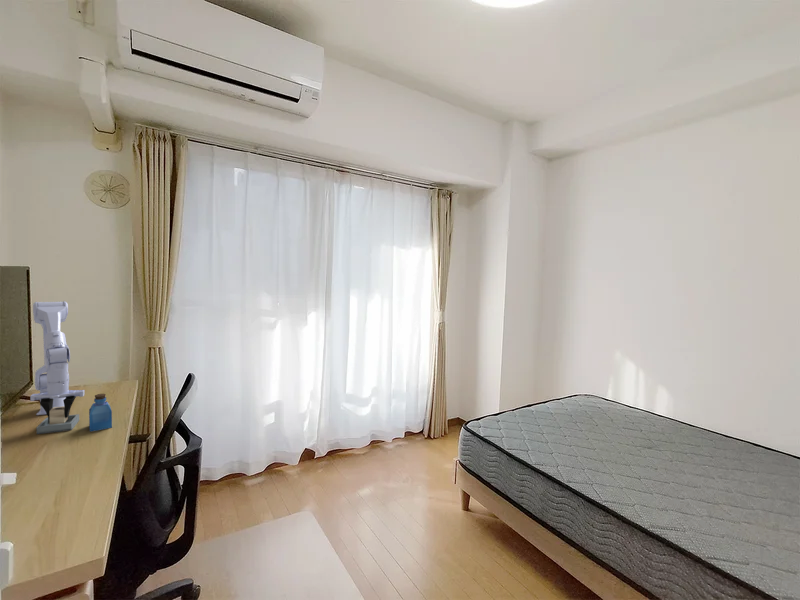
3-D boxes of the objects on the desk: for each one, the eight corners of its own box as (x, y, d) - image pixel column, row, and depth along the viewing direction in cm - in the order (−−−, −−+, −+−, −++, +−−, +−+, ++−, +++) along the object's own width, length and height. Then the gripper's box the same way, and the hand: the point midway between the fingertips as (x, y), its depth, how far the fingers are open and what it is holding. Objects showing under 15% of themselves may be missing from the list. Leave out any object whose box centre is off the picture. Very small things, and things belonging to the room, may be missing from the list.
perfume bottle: (90, 431, 135) (89, 399, 134) (89, 425, 140) (89, 394, 139) (111, 427, 139) (111, 395, 138) (110, 422, 144) (110, 391, 143)
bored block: (53, 420, 138) (53, 407, 138) (67, 419, 140) (67, 405, 139) (49, 424, 134) (49, 410, 134) (64, 423, 136) (64, 409, 136)
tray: (46, 424, 139) (46, 417, 139) (79, 420, 144) (79, 414, 143) (36, 434, 131) (36, 427, 131) (71, 430, 135) (71, 423, 135)
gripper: (26, 385, 129) (27, 424, 130) (80, 382, 136) (81, 418, 137) (34, 380, 135) (35, 417, 136) (85, 376, 142) (86, 411, 143)
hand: (58, 417), depth 137 cm, fingers closed on bored block, 4 cm apart
